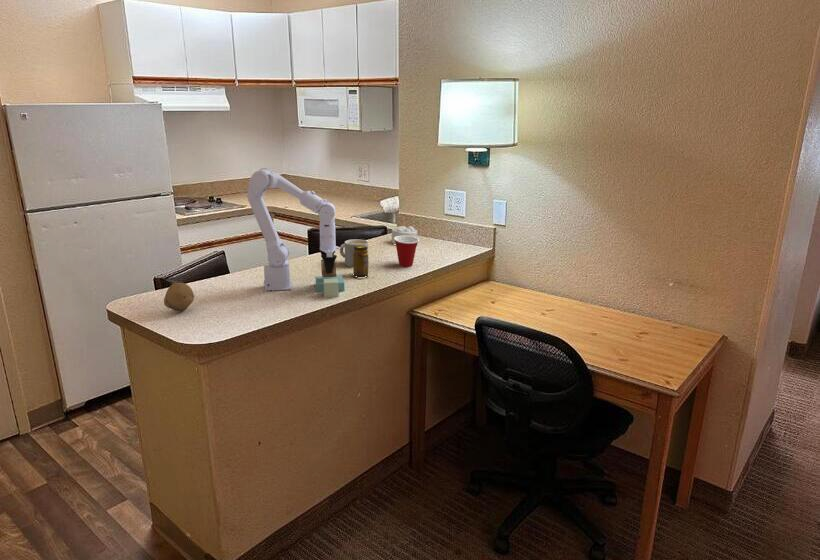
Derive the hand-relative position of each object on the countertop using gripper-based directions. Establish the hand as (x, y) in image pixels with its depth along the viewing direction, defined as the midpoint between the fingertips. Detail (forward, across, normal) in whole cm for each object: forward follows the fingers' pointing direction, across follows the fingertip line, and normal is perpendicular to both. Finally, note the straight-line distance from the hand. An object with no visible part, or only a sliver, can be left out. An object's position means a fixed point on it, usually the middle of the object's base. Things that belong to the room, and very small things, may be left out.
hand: (328, 271), depth 216 cm
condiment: (+7, +13, -14) cm, 20 cm away
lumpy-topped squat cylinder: (+7, +62, -42) cm, 75 cm away
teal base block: (+7, 0, 0) cm, 7 cm away
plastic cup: (+7, +25, -35) cm, 44 cm away
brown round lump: (+7, -18, +50) cm, 54 cm away
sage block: (+6, -9, 0) cm, 11 cm away
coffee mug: (+7, +31, -13) cm, 34 cm away
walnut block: (+2, 0, 0) cm, 2 cm away
